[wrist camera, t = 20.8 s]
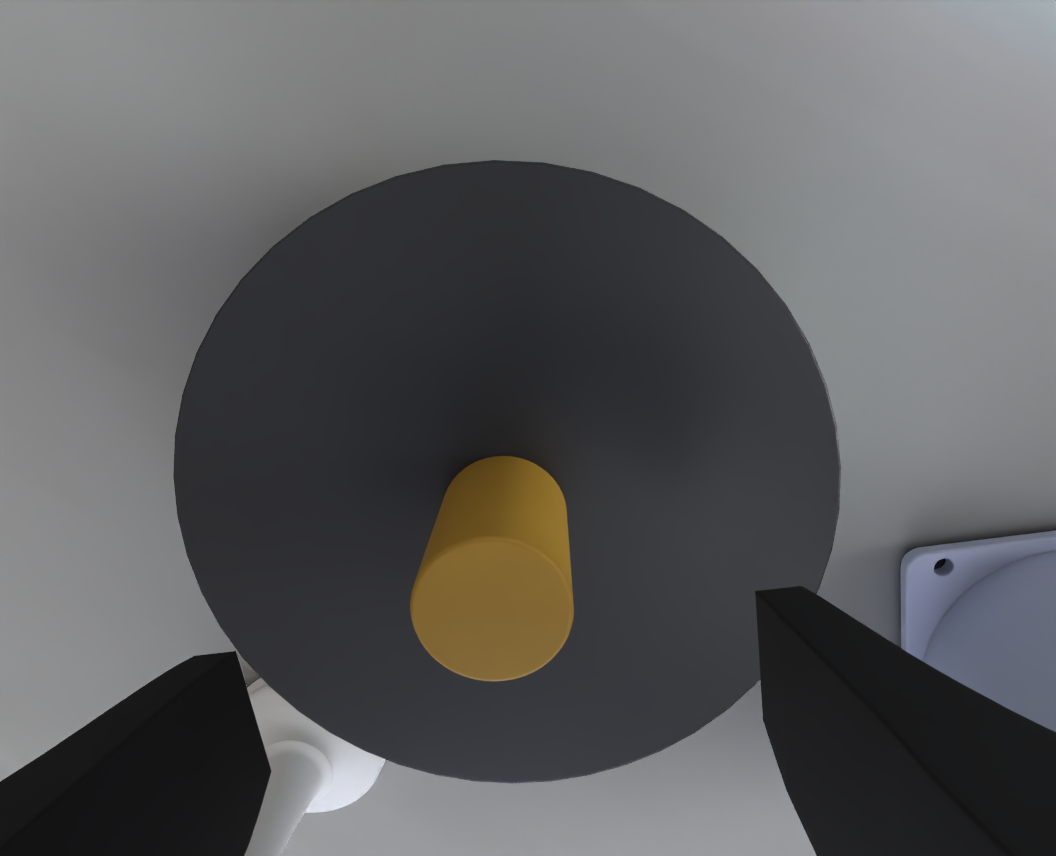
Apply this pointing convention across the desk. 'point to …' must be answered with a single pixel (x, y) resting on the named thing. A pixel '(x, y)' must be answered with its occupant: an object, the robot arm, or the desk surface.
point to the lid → (504, 470)
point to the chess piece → (302, 770)
